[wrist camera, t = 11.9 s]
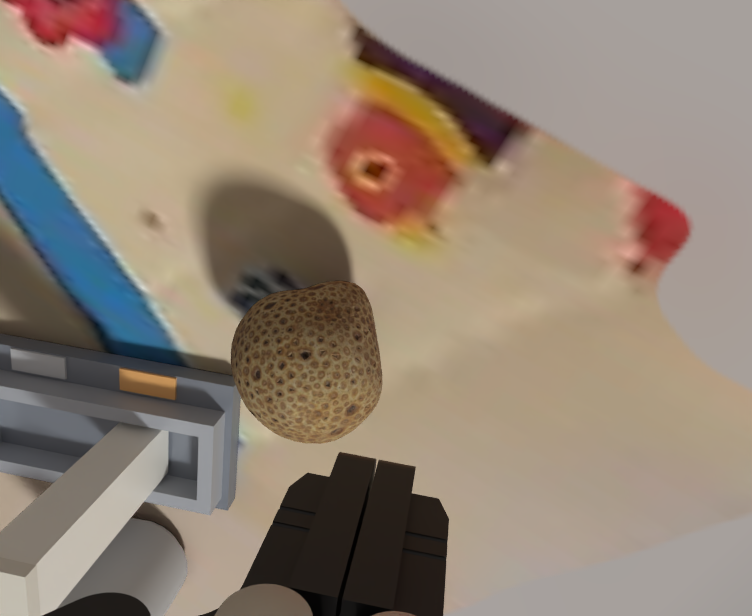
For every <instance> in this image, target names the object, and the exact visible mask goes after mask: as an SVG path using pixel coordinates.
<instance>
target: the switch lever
mask: <svg viewBox="0 0 752 616" xmlns="http://www.w3.org/2000/svg"><path fill="white" fill-rule="evenodd" d="M168 437H169V431H164V430H159V429H154V428H149V427H144V426H139V425H133V424H128V423H123V422H119V423H118V424H117V425H116V426H115V427H114V428H113V429H112V430H111V431H110V432H109V433H107V434H106V435H105V436H104V437H103V438H102V439H101V440H100V441H99V442H98V443H97V444H95V445H94V446H93V447H92V448H91V449H90V450H89V451H88V452H87V453H86V454H85V455H84V456H82V457H81V458H80V459H79V460H78V461H77V462H76V463H75V464H74V465H73V466H72V467H70V468H69V469H68V470H67V471H66V472H65V473H64V474H63V475H62V476H61V477H60V478H58V479H57V480H56V481H55V482H54V483H53V484H52V485H51V486H50V487H49V488H48V489H46V490H45V491H44V492H43V493H42V494H41V495H40V496H39V497H38V498H37V499H36V500H34V501H33V502H32V503H31V504H30V505H29V506H28V507H27V508H26V509H25V510H24V511H22V512H21V513H20V514H19V515H18V516H17V517H16V518H15V519H14V520H13V521H12V522H10V523H9V524H8V525H7V526H6V527H5V528H4V529H3V530H2V531H1V532H0V616H42V615H45V614H47V613H49V612H51V611H54V610H56V609H57V608H58V606H59V605H60V604H61V603H62V601H63V600H64V599H65V598H66V597H67V595H68V594H69V593H70V592H71V590H72V589H73V588H74V587H75V586H76V584H77V583H78V582H79V581H80V579H81V578H82V577H83V576H84V575H85V573H86V572H87V571H88V570H89V568H90V567H91V566H92V565H93V563H94V562H95V561H96V560H97V559H98V557H99V556H100V555H101V554H102V552H103V551H104V550H105V549H106V548H107V546H108V545H109V544H110V543H111V541H112V540H113V539H114V538H115V537H116V535H117V534H118V533H119V532H120V530H121V529H122V528H123V527H124V525H125V524H126V523H127V522H128V521H129V519H130V518H131V517H132V516H133V514H134V513H135V512H136V511H137V510H138V508H139V507H140V506H141V505H142V503H143V502H144V501H145V500H146V499H147V497H148V496H149V495H150V494H151V492H152V491H153V490H154V489H155V488H156V486H157V485H158V484H159V483H160V481H161V480H162V479H163V478H164V476H165V475H166V474H167V473H168Z"/></svg>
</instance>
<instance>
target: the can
mask: <svg viewBox="0 0 752 616" xmlns="http://www.w3.org/2000/svg"><path fill="white" fill-rule="evenodd" d="M187 573H188V571H187V559H186V556H185V553H184V551H183V548H182V547H181V546H180V544H179V542H178V541H177V540H176V538H175V537H174V536H173V534H172V533H170V532H169V531H168V530H167V529H165V528H164V527H163V526H161V525H158V524H156V523H154V522H152V521H146V520H141V519H135V518H130V519H129V521H128V522H127V523H126V524H125V525H124V527H123V528H122V529H121V530H120V532H119V533H118V534H117V535H116V537H115V538H114V539H113V540H112V541H111V543H110V544H109V545H108V546H107V548H106V549H105V550H104V551H103V552H102V554H101V555H100V556H99V557H98V559H97V560H96V561H95V562H94V563H93V565H92V566H91V567H90V568H89V570H88V571H87V572H86V573H85V575H84V576H83V577H82V578H81V579H80V581H79V582H78V583H77V584H76V586H75V587H74V588H73V589H72V590H71V592H70V593H69V594H68V595H67V597H66V598H65V599H64V600H63V601H62V603H61V604H60V605H59V606H58V608H60V607H63V606H65V605H67V604H69V603H71V602H74V601H76V600H78V599H81V598H83V597H86V596H90V595H93V594H98V593H105V592H116V593H123V594H127V595H131V596H133V597H135V598H137V599H138V600H140V601H141V602H142V603H144V605H145V606H146V607H147V608H148V610H149V612H150V614H151V616H164V615H165V614H166V612H167V610H168V609H169V607H170V605H171V604H172V602H173V600H174V599H175V597H176V595H177V593H178V592H179V590H180V588H181V587H182V585H183V583H184V581H185V578H186V576H187ZM58 608H57V609H58Z"/></svg>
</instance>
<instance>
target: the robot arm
mask: <svg viewBox="0 0 752 616" xmlns="http://www.w3.org/2000/svg"><path fill="white" fill-rule="evenodd" d="M375 468H376V459H373V458H368V457H363V456H358V455H353V454H347V453H342V452H339V454H338V456H337V459H336V462H335V464H334V467H333V470H332V472H331V475H330V477H327V476H321V475H316V474H311V473H307V474H305V475H304V476H303V477H301V478H300V479H299V480H298V481H296V482H295V483H294V484H292V485H291V486H290V487H289V489H288V491H287V493H286V495H285V497H284V499H283V501H282V503H281V505H280V509H279V510H278V512H277V514H276V516H275V518H274V520H273V524H272V525H271V527H270V529H269V531H268V533H267V535H266V537H265V539H264V541H263V543H262V545H261V548H260V550H259V552H258V554H257V556H256V558H255V560H254V562H253V564H252V567H251V569H250V571H249V573H248V575H247V577H246V579H245V581H244V583H243V585H242V587H241V589H240V590H239V591H237V592H235V593H233V594H232V595H231V596H229V597H228V598H227V599H226V600H225V601H224V602H223V603H222V605H221V606H220V607H219V608H218V609H216V610H214V611H212V612H209V613H206V614H204V615H200V616H443V608H444V591H445V574H446V557H447V540H448V524H449V518H448V516H447V514H446V512H445V510H444V508H443V506H442V504H441V502H440V500H439V499H437V498H432V497H427V496H422V495H417V494H412V487H413V480H414V474H415V468H416V467H414V466H409V465H404V464H399V463H393V462H388V461H383V460H379V461H378V465H377V469H376V472H375ZM374 475H375V476H374ZM42 616H151V614H150V612H149V610H148V608H147V607H146V606H145V605H144V603H142V602H141V601H140V600H138V599H137V598H135V597H133V596H131V595H127V594H123V593H116V592H105V593H98V594H93V595H90V596H86V597H83V598H81V599H78V600H76V601H74V602H71V603H69V604H67V605H65V606H63V607H60V608H58V609H56V610H54V611H51V612H49V613H47V614H45V615H42Z"/></svg>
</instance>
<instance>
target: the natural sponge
mask: <svg viewBox="0 0 752 616" xmlns="http://www.w3.org/2000/svg"><path fill="white" fill-rule="evenodd" d="M231 367H232V373H233V378H234V381H235V384H236V387H237V389H238V392H239V394H240V396H241V398H242V400H243V402H244V403H245V405H246V407H247V408H248V410H249V411H250V412H251V413H252V414H253V415H254V416H255V417H256V418H257V420H259V421H260V422H261V423H262V424H263V425H264V426H266V427H267V428H268V429H270V430H271V431H273V432H274V433H276V434H278V435H279V436H282V437H284V438H287V439H290V440H293V441H296V442H302V443H319V444H321V443H326V442H331V441H335V440H337V439H339V438H341V437H343V436H345V435H347V434H348V433H350V432H351V431H353V430H354V429H355V428H356V427H357V426H358V425H360V424H361V423H362V422H363V421H364V420H365V419H366V418H367V417H368V416H369V414H370V413H371V412H372V411H373V409H374V408H375V407H376V405H377V403H378V400H379V398H380V394H381V390H382V369H381V362H380V353H379V347H378V341H377V335H376V329H375V323H374V318H373V313H372V308H371V305H370V302H369V300H368V298H367V296H366V294H365V292H364V291H363V289H362V288H361V287H359V286H358V285H356V284H355V283H350V282H346V281H331V282H324V283H320V284H317V285H314V286H311V287H308V288H304V289H298V290H289V291H280V292H276V293H273V294H270V295H268V296H266V297H264V298H262V299H261V300H259V301H258V302H257V303H255V304H254V305H253V306H252V307H251V308H250V309H249V311H248V312H247V313H246V315H245V316H244V317H243V319H242V320H241V321H240V323H239V325H238V327H237V329H236V332H235V335H234V338H233V342H232V348H231Z"/></svg>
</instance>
